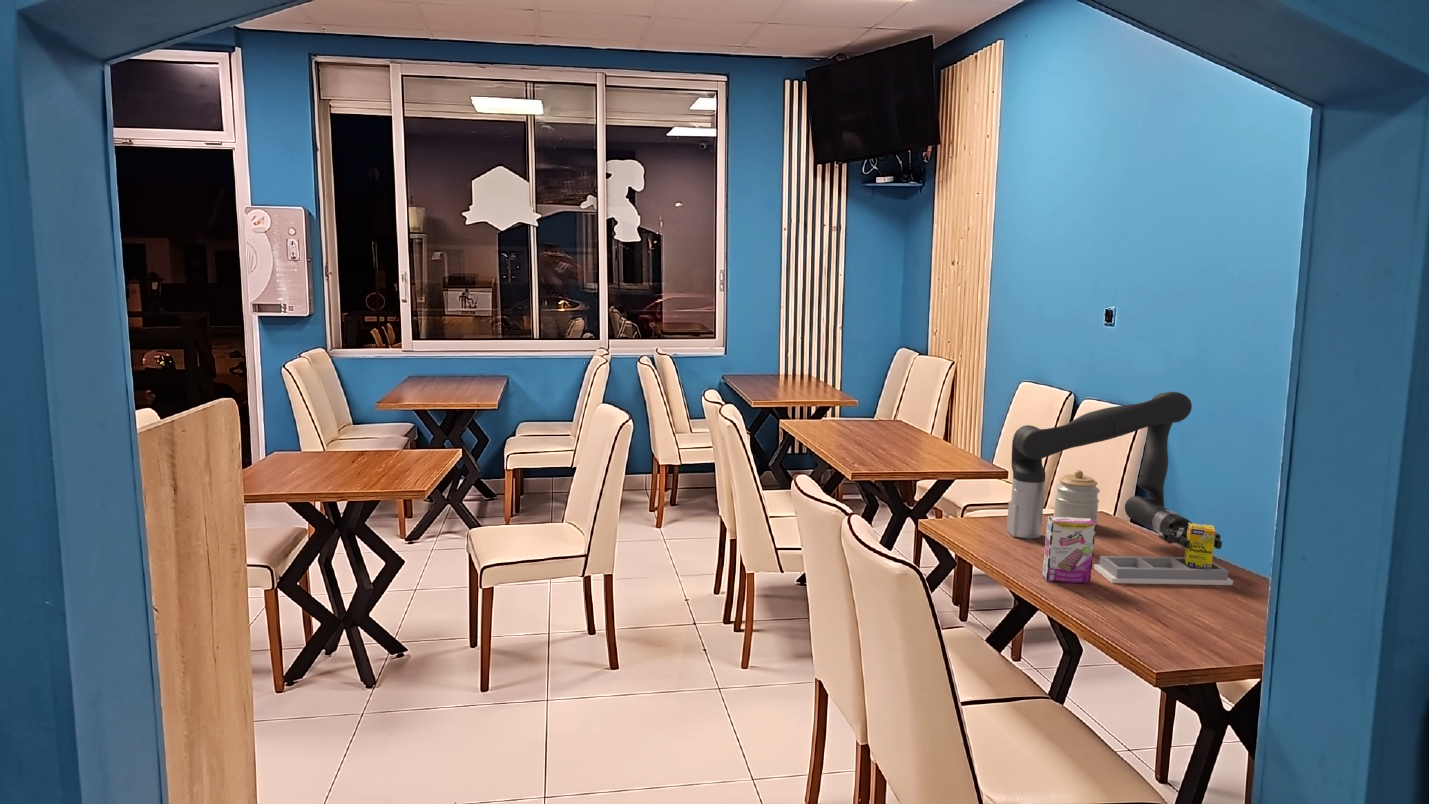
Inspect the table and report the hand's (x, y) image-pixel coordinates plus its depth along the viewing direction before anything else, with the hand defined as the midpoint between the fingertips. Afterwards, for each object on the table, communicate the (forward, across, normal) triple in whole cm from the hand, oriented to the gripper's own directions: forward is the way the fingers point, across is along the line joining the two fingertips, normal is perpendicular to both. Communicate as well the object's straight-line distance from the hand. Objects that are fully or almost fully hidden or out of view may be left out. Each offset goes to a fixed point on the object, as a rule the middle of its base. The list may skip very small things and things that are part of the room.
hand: (1204, 545), depth 233 cm
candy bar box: (+2, -36, +10) cm, 37 cm away
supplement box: (-2, 0, +7) cm, 7 cm away
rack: (-2, -9, +9) cm, 13 cm away
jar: (-50, -13, +10) cm, 53 cm away
